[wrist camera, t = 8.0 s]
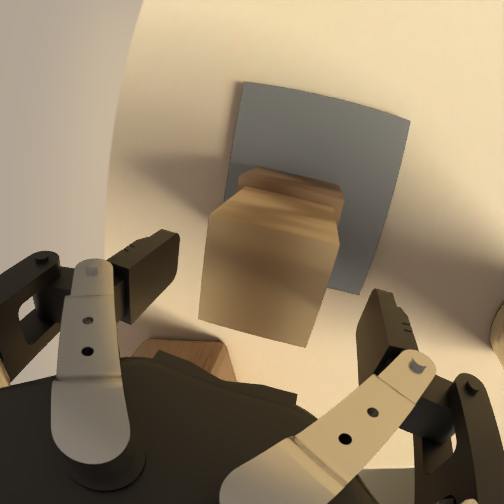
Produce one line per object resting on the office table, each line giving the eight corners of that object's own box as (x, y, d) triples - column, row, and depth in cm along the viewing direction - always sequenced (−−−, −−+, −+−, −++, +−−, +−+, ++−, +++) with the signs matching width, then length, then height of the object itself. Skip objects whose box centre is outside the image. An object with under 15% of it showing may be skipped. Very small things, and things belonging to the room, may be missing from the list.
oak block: (333, 206, 16) (339, 245, 11) (311, 284, 18) (305, 347, 13) (245, 186, 17) (209, 214, 12) (232, 264, 19) (198, 318, 14)
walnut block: (339, 185, 21) (344, 200, 16) (318, 261, 23) (317, 293, 19) (256, 166, 21) (239, 175, 17) (243, 242, 24) (224, 269, 19)
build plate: (406, 121, 19) (410, 120, 18) (358, 289, 24) (359, 295, 23) (247, 83, 20) (243, 81, 19) (219, 254, 26) (215, 259, 25)
